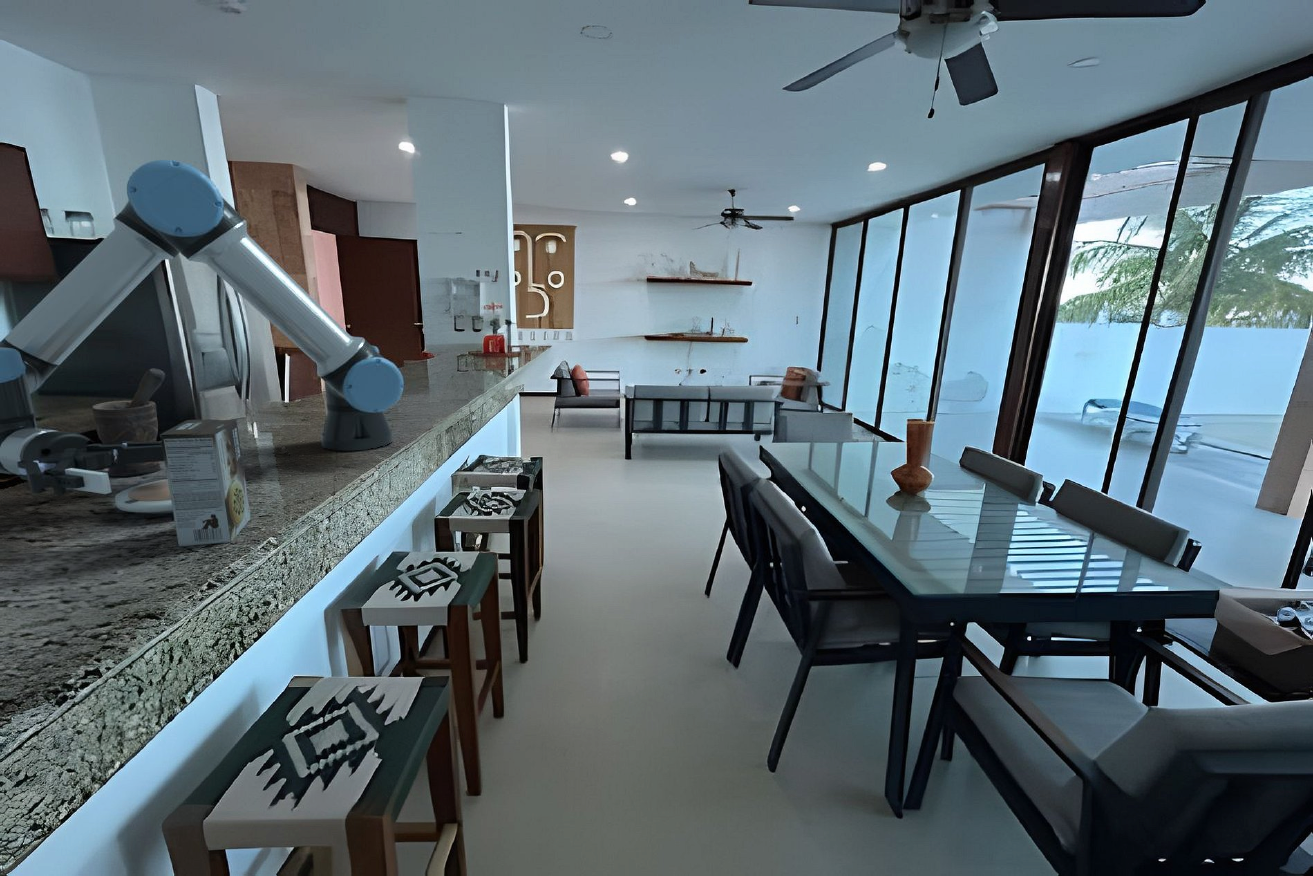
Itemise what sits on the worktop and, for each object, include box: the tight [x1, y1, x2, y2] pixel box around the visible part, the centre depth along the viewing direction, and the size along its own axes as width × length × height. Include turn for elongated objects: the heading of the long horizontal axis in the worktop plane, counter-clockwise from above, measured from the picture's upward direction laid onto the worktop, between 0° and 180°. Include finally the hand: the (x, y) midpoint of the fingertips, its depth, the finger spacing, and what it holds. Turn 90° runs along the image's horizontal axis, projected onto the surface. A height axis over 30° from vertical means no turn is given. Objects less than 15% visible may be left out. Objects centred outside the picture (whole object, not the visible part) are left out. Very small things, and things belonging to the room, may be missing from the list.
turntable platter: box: [114, 478, 173, 513], centre depth 90 cm, size 14×14×1 cm
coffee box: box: [159, 418, 252, 547], centre depth 80 cm, size 9×6×16 cm
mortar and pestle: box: [91, 367, 166, 477], centre depth 104 cm, size 12×9×20 cm
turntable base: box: [135, 510, 174, 519], centre depth 90 cm, size 10×10×2 cm
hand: (161, 469), depth 81 cm, fingers open, 13 cm apart
